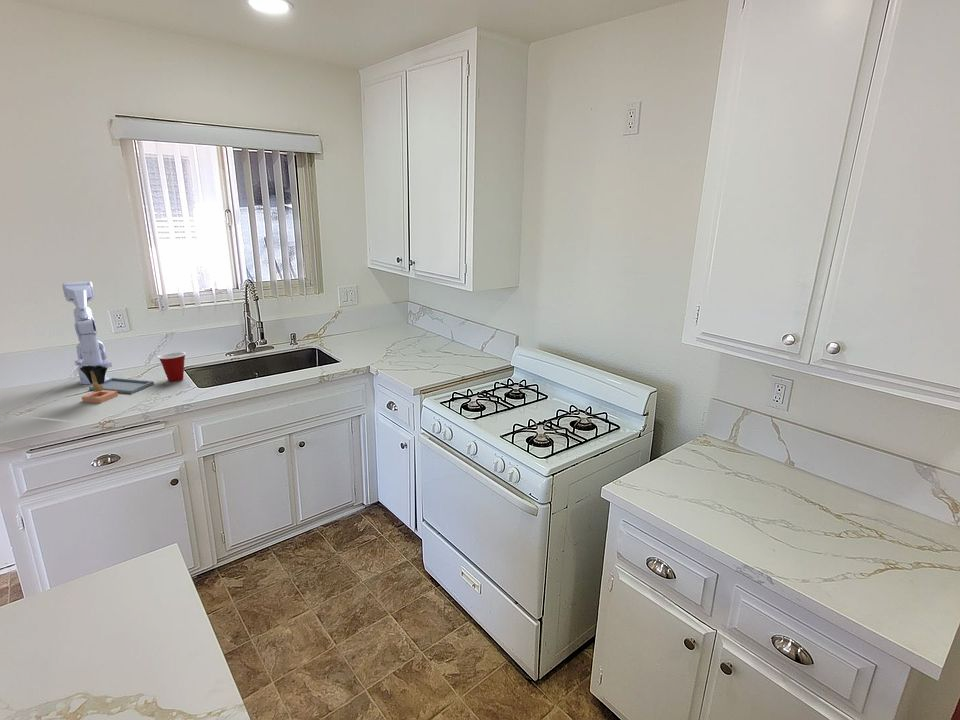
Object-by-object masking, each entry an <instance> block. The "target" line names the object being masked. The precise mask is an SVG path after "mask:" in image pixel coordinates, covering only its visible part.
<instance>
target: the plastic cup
mask: <svg viewBox="0 0 960 720" xmlns="http://www.w3.org/2000/svg"><path fill="white" fill-rule="evenodd" d="M185 356H186V352H184V351H178V352H177V351H175V352H168V353H163V354H160V355H158V356H157V358H158V359H159V361H160V363H161V365H162V368H163V371H164V373H165V376H166V377H167V381H168V382H170V383H177V382H180V381H183V380H184V373H185V359H186V357H185Z"/></svg>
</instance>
